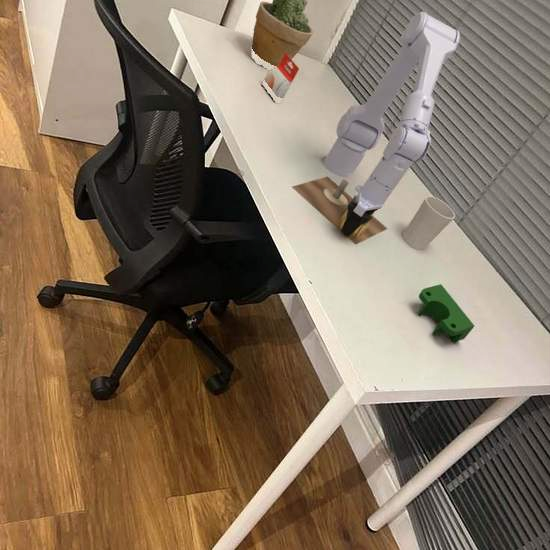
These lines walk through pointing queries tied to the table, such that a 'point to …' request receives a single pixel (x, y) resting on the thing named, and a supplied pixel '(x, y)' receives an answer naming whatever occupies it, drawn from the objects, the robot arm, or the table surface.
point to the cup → (427, 223)
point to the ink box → (281, 76)
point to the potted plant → (280, 30)
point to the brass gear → (358, 231)
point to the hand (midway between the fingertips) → (350, 228)
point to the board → (334, 204)
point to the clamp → (445, 313)
